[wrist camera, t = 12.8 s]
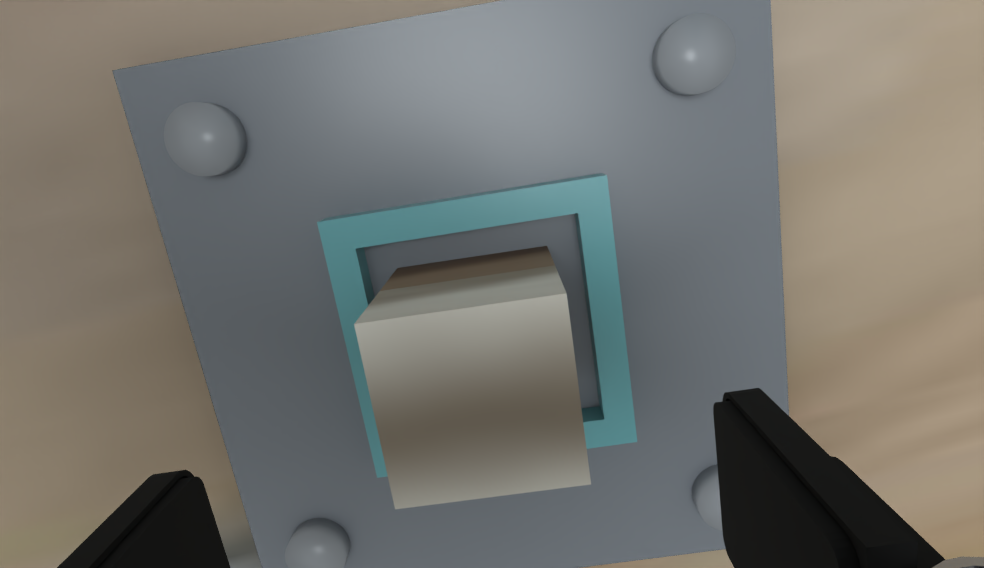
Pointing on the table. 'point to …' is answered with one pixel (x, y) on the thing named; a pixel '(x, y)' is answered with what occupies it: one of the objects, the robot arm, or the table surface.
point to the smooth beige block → (474, 379)
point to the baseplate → (474, 232)
